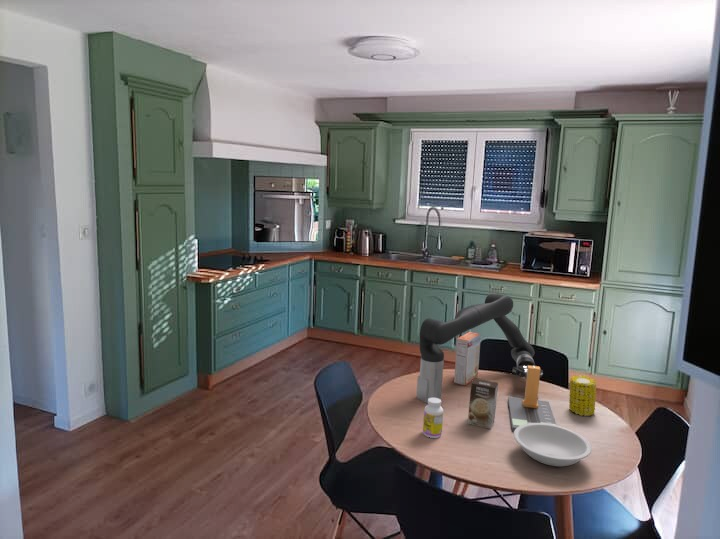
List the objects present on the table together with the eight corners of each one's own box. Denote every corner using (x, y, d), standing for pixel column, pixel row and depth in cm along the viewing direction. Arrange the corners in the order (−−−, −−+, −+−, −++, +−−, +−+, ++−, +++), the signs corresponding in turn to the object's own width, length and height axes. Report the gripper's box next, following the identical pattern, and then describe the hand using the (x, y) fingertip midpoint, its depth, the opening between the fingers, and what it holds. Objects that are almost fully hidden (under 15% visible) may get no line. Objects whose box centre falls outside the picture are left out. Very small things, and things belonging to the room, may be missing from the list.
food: (598, 418, 205) (577, 422, 202) (578, 400, 215) (558, 403, 212) (608, 386, 199) (586, 390, 196) (587, 369, 209) (566, 372, 206)
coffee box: (466, 423, 193) (470, 382, 190) (470, 416, 198) (474, 377, 196) (491, 429, 189) (495, 387, 186) (495, 422, 195) (498, 381, 192)
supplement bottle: (419, 431, 185) (421, 397, 183) (435, 428, 188) (438, 395, 186) (428, 440, 179) (430, 405, 177) (445, 437, 182) (447, 402, 179)
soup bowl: (512, 470, 163) (514, 451, 161) (511, 435, 185) (513, 418, 184) (595, 485, 156) (597, 465, 155) (583, 446, 179) (585, 429, 178)
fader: (538, 408, 204) (542, 369, 201) (523, 406, 205) (527, 367, 202) (536, 403, 208) (540, 365, 205) (522, 402, 209) (526, 364, 206)
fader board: (558, 437, 185) (560, 428, 184) (512, 431, 188) (513, 422, 188) (548, 405, 212) (549, 396, 211) (507, 400, 215) (508, 392, 215)
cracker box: (466, 374, 243) (469, 330, 239) (478, 377, 239) (481, 333, 235) (452, 382, 231) (456, 337, 228) (465, 386, 228) (469, 340, 224)
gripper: (511, 355, 232) (513, 368, 216) (542, 358, 230) (547, 372, 213) (509, 370, 234) (512, 385, 217) (540, 374, 231) (545, 389, 214)
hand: (529, 379), depth 215 cm, fingers closed
